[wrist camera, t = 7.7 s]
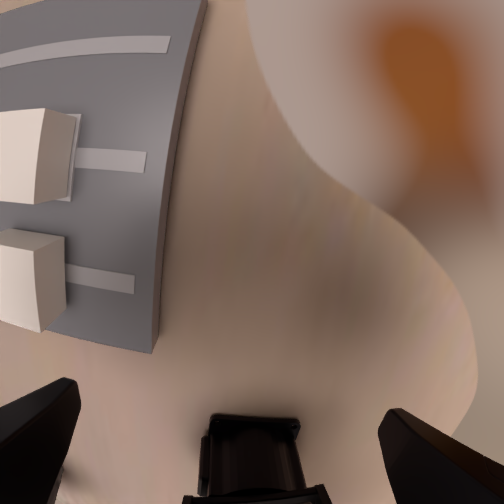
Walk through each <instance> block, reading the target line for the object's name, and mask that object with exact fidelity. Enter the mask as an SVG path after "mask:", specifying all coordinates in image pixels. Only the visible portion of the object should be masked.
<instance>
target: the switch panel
mask: <svg viewBox="0 0 504 504" xmlns="http://www.w3.org/2000/svg"><path fill="white" fill-rule="evenodd" d="M207 4H208V0H44V1H40V2H37V3H33V4H30V5H26V6H23V7H20V8H16V9H13V10H10V11H7V12H5V13H2V14H0V112H6V111H16V110H27V109H40V108H46V109H50V110H53V111H56V112H60V113H63V114H66V115H70V116H73V117H76V122H75V128H74V134H73V140H72V147H71V155H70V163H69V172H68V182H67V194H66V198H61V199H56V200H52V201H47V202H42V203H38V204H25V203H15V202H5V201H0V231H3V230H6V229H9V228H12V229H18V230H24V231H30V232H37V233H43V234H50V235H56V236H63V237H64V263H65V291H66V306H67V308H66V309H65V310H64V311H63V312H62V313H61V314H60V315H59V316H58V317H57V318H56V319H55V320H54V321H53V322H52V323H51V324H50V325H49V326H48V327H47V328H46V329H45V330H48V331H52V332H56V333H59V334H63V335H67V336H71V337H74V338H78V339H82V340H87V341H91V342H95V343H99V344H104V345H108V346H113V347H118V348H123V349H128V350H133V351H138V352H143V353H149V354H152V351H153V349H154V346H155V344H156V341H157V339H158V332H159V309H160V291H161V276H162V263H163V251H164V241H165V231H166V221H167V212H168V204H169V196H170V188H171V180H172V173H173V166H174V160H175V153H176V147H177V141H178V135H179V129H180V123H181V118H182V112H183V107H184V102H185V97H186V92H187V87H188V82H189V77H190V73H191V68H192V64H193V59H194V55H195V51H196V46H197V42H198V38H199V34H200V30H201V26H202V23H203V19H204V15H205V11H206V8H207Z"/></svg>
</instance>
